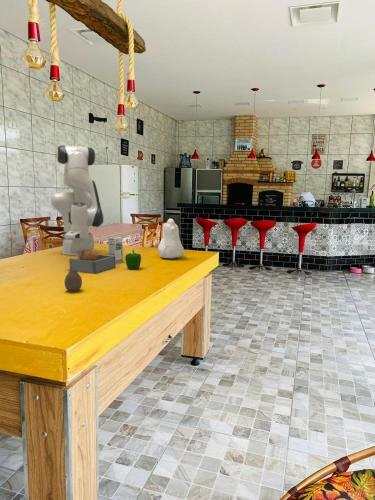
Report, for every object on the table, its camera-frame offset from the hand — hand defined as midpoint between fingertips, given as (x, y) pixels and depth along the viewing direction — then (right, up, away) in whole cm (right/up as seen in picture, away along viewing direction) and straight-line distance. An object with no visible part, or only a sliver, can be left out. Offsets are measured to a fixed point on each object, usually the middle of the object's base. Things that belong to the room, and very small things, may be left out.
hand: (80, 259), depth 205 cm
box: (+7, -5, -2) cm, 9 cm away
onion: (+5, -5, -1) cm, 7 cm away
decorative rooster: (+46, 0, +38) cm, 60 cm away
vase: (+10, -12, -46) cm, 48 cm away
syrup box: (+15, -2, +18) cm, 24 cm away
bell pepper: (+28, -5, +1) cm, 29 cm away
